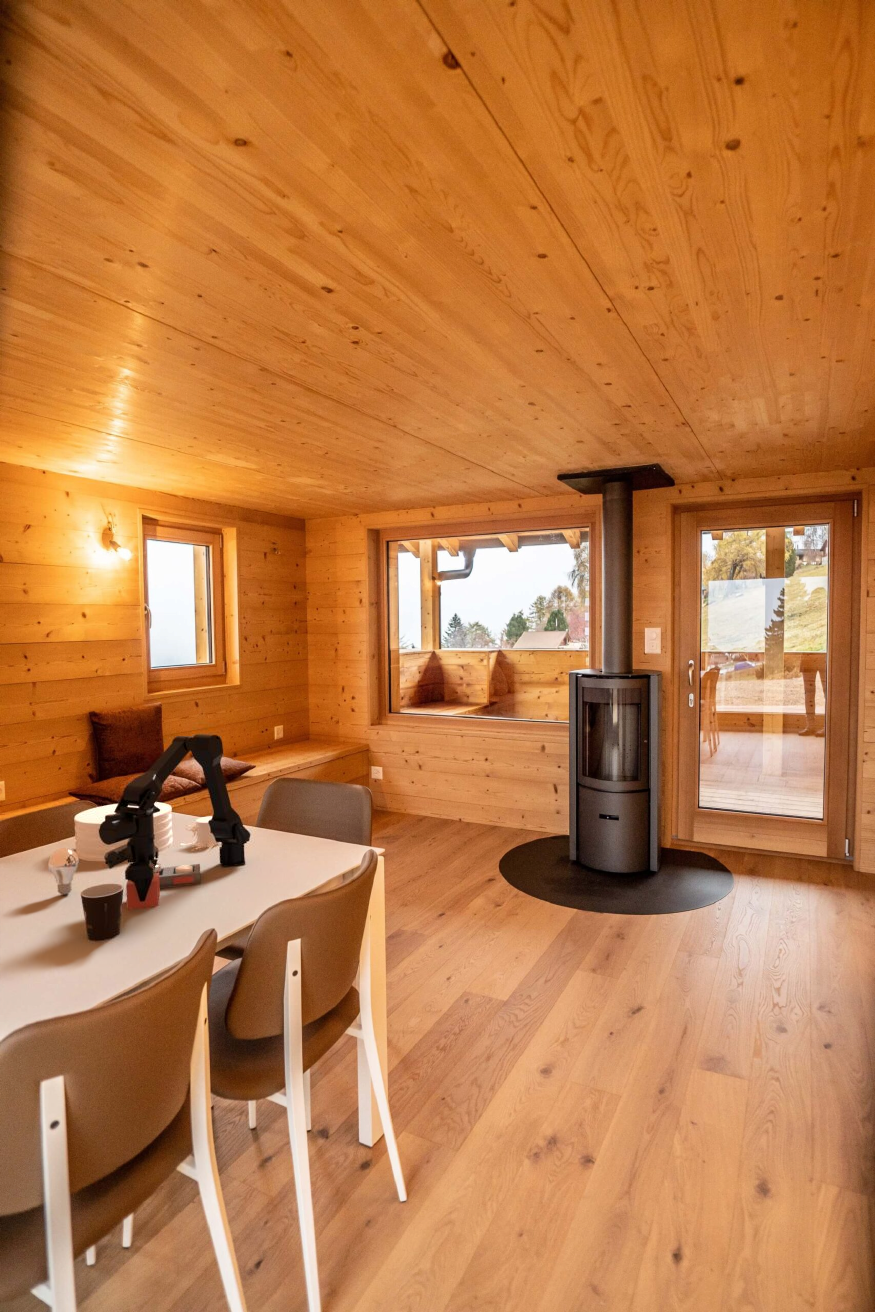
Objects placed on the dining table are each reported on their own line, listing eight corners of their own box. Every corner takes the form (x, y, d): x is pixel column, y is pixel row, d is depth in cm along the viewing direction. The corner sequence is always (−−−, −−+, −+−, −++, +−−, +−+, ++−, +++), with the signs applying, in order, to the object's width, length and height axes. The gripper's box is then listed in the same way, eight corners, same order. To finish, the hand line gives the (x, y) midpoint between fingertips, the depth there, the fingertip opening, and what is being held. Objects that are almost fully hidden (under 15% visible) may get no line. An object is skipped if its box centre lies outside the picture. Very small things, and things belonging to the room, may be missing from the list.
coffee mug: (91, 928, 166) (89, 884, 165) (130, 926, 166) (129, 882, 166) (70, 950, 154) (68, 903, 154) (112, 948, 155) (110, 901, 154)
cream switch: (193, 872, 200) (192, 864, 200) (192, 877, 195) (192, 869, 195) (175, 874, 198) (175, 866, 198) (175, 879, 194) (174, 871, 194)
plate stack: (140, 831, 250) (139, 798, 249) (190, 844, 233) (189, 808, 233) (58, 852, 227) (56, 815, 227) (107, 867, 211) (106, 828, 210)
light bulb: (67, 900, 184) (65, 853, 183) (43, 899, 185) (41, 852, 185) (86, 891, 191) (84, 845, 190) (62, 889, 192) (61, 844, 192)
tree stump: (173, 841, 237) (172, 817, 237) (234, 833, 246) (233, 809, 246) (182, 858, 219) (181, 831, 219) (247, 848, 228) (246, 822, 228)
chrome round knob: (161, 870, 197) (161, 862, 197) (160, 875, 193) (160, 867, 193) (144, 872, 196) (143, 864, 196) (142, 877, 192) (142, 869, 192)
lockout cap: (160, 896, 186) (159, 872, 186) (158, 905, 179) (157, 881, 179) (130, 899, 184) (129, 875, 184) (127, 909, 177) (126, 884, 177)
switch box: (200, 874, 202) (199, 863, 202) (199, 884, 194) (199, 873, 194) (137, 881, 197) (137, 870, 197) (134, 891, 189) (134, 880, 189)
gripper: (111, 827, 187) (113, 888, 188) (100, 847, 170) (102, 914, 170) (157, 823, 191) (159, 882, 191) (152, 842, 173) (154, 907, 173)
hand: (143, 896), depth 181 cm, fingers closed on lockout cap, 7 cm apart
